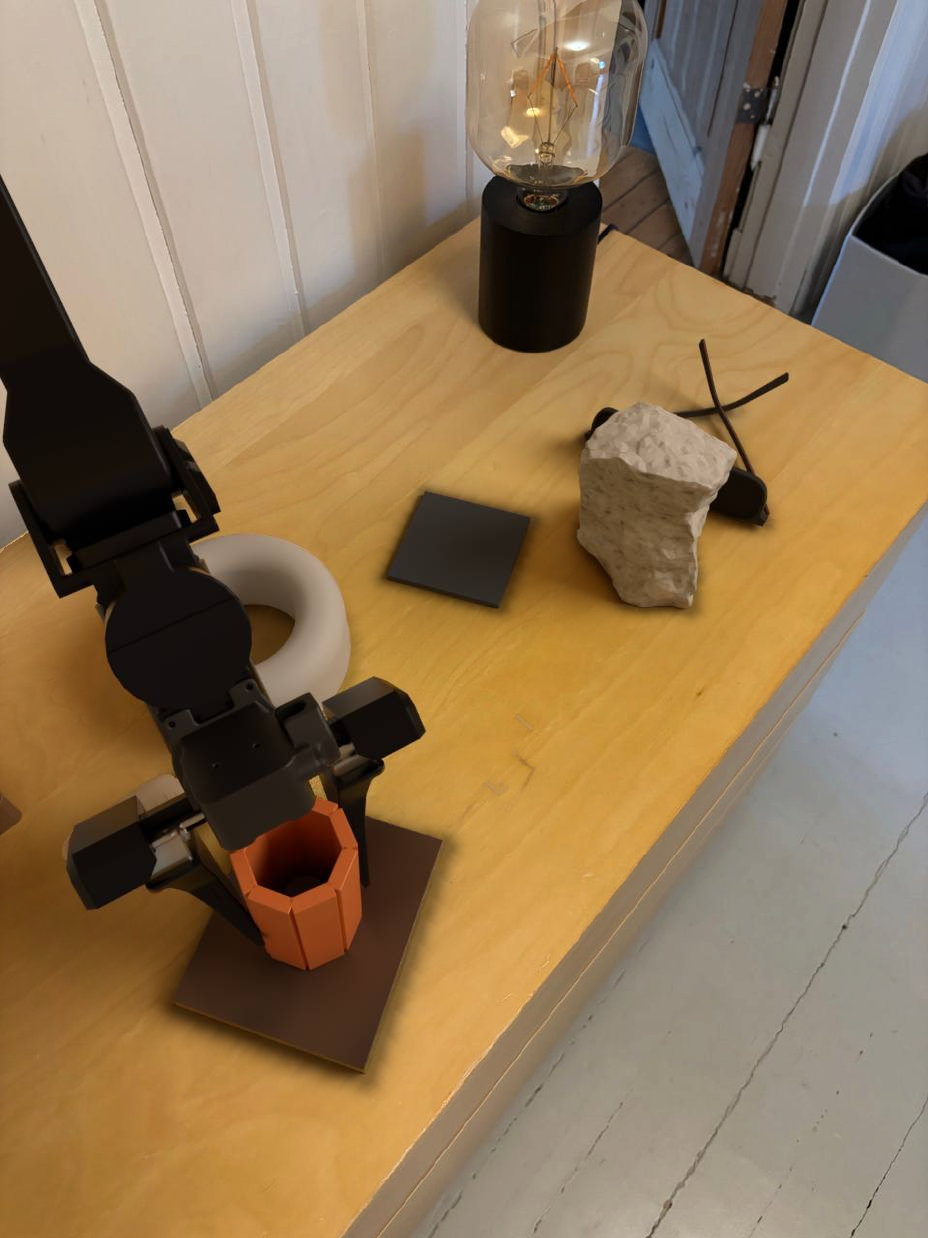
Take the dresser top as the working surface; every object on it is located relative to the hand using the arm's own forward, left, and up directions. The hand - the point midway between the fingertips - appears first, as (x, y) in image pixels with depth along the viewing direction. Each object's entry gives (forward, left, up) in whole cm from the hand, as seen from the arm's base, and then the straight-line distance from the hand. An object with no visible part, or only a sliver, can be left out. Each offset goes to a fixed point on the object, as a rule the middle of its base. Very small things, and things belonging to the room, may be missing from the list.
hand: (314, 914), depth 52 cm
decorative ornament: (-14, +3, -7) cm, 16 cm away
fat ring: (-13, +17, -7) cm, 23 cm away
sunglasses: (+15, +49, -7) cm, 52 cm away
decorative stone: (+12, +35, -7) cm, 38 cm away
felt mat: (-2, +32, -7) cm, 32 cm away
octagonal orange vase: (-1, +1, -5) cm, 5 cm away
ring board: (-1, +1, -7) cm, 7 cm away
